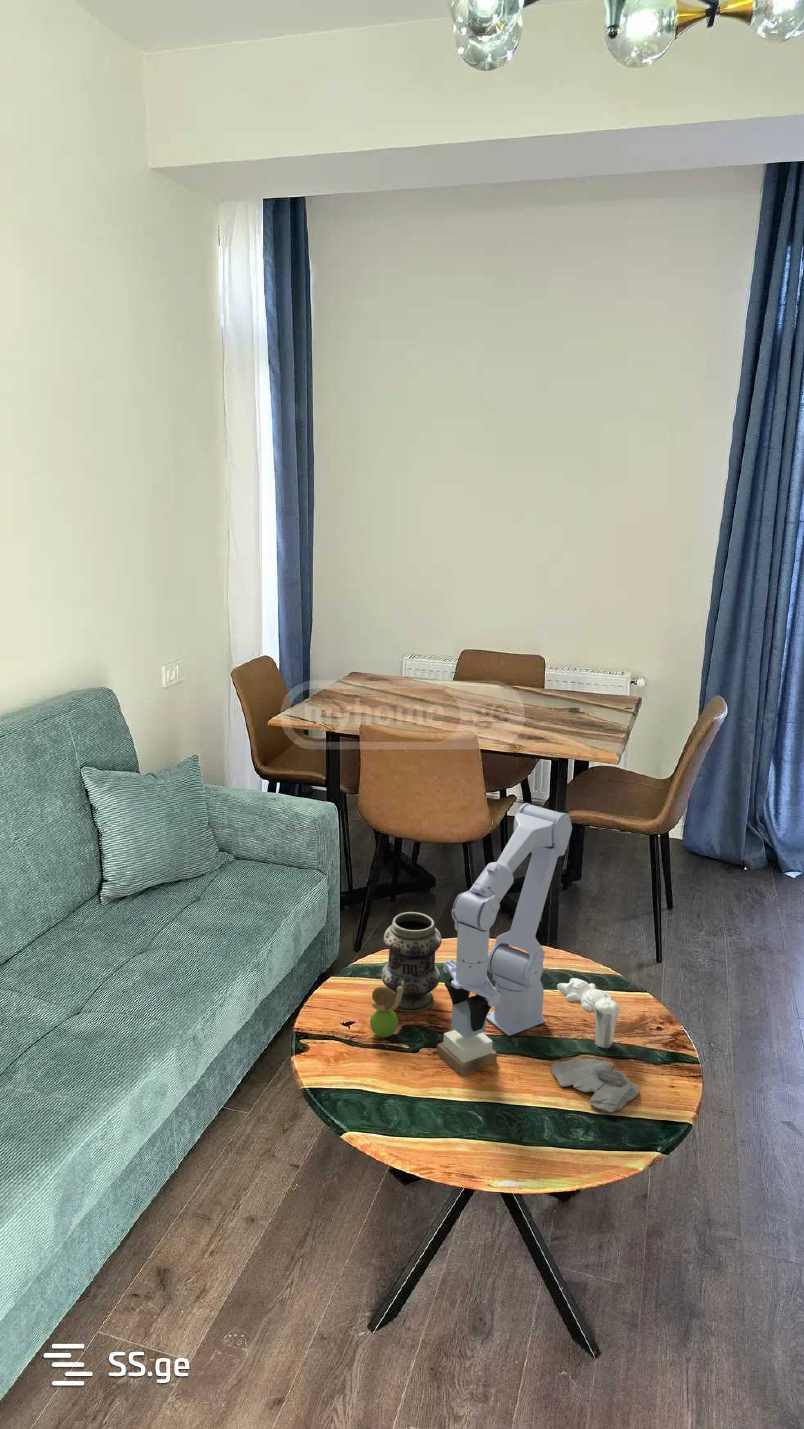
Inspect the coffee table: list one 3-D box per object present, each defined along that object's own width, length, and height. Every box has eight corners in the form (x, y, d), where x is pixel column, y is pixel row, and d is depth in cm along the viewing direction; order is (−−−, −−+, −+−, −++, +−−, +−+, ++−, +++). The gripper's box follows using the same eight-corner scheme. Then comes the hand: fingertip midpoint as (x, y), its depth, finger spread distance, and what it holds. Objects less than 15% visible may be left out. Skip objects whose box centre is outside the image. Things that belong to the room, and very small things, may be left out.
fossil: (649, 1091, 169) (649, 1079, 169) (609, 1122, 163) (608, 1110, 162) (577, 1053, 182) (576, 1042, 181) (537, 1080, 175) (536, 1068, 175)
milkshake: (584, 1037, 186) (588, 991, 183) (611, 1036, 186) (615, 991, 184) (591, 1051, 182) (595, 1004, 179) (618, 1050, 182) (622, 1004, 179)
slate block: (470, 1020, 180) (471, 998, 179) (485, 1031, 176) (486, 1010, 175) (451, 1027, 177) (452, 1005, 176) (465, 1039, 174) (467, 1017, 173)
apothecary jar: (451, 999, 198) (454, 920, 193) (413, 1023, 189) (415, 941, 184) (407, 978, 205) (409, 902, 201) (368, 1000, 197) (370, 921, 192)
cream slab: (471, 1035, 182) (472, 1023, 182) (491, 1053, 177) (492, 1041, 176) (443, 1045, 179) (443, 1033, 178) (463, 1063, 174) (463, 1051, 173)
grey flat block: (470, 1043, 184) (470, 1031, 183) (496, 1064, 178) (497, 1052, 177) (436, 1056, 180) (437, 1044, 179) (462, 1078, 173) (462, 1066, 173)
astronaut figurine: (580, 980, 207) (581, 967, 207) (620, 1006, 198) (622, 993, 197) (550, 991, 203) (551, 978, 202) (589, 1018, 193) (590, 1005, 192)
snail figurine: (399, 1045, 182) (401, 989, 179) (366, 1041, 183) (368, 985, 180) (405, 1029, 187) (407, 974, 184) (373, 1025, 188) (374, 970, 185)
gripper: (431, 944, 177) (428, 1010, 180) (479, 980, 165) (475, 1048, 169) (461, 935, 181) (458, 999, 184) (510, 969, 169) (506, 1036, 172)
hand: (468, 1022), depth 177 cm, fingers closed on slate block, 4 cm apart
